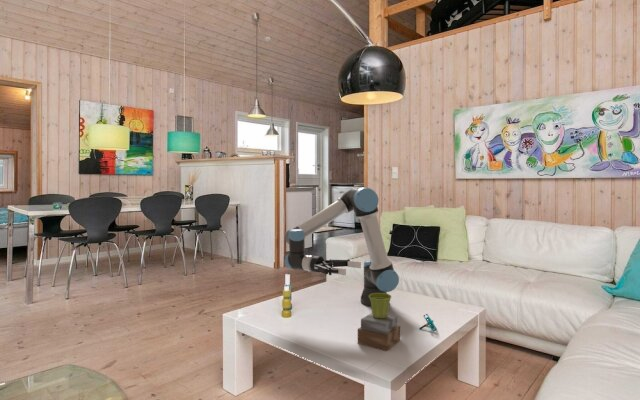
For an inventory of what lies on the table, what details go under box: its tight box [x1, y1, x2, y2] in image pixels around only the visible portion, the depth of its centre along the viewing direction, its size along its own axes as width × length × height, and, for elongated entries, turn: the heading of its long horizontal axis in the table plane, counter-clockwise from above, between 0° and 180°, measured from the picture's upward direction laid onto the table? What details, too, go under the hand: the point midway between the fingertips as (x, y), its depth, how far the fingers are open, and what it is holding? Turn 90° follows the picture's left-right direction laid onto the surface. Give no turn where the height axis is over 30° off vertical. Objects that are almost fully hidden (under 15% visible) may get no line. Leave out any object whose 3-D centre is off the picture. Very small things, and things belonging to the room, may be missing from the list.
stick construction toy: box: [419, 313, 438, 333], centre depth 180 cm, size 12×7×8 cm
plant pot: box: [369, 293, 392, 319], centre depth 166 cm, size 9×9×9 cm
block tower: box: [357, 312, 401, 352], centre depth 165 cm, size 13×13×10 cm
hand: (353, 268), depth 176 cm, fingers open, 13 cm apart
